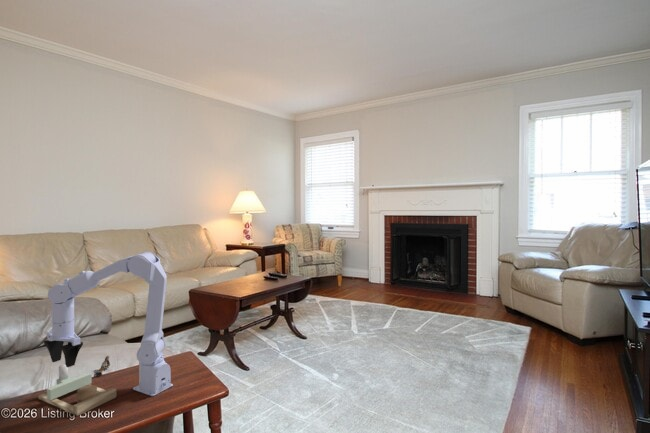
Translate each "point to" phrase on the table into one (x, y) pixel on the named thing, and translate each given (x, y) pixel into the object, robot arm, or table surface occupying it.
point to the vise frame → (84, 405)
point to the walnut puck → (86, 392)
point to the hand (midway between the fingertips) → (63, 363)
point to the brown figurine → (104, 366)
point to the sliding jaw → (67, 383)
